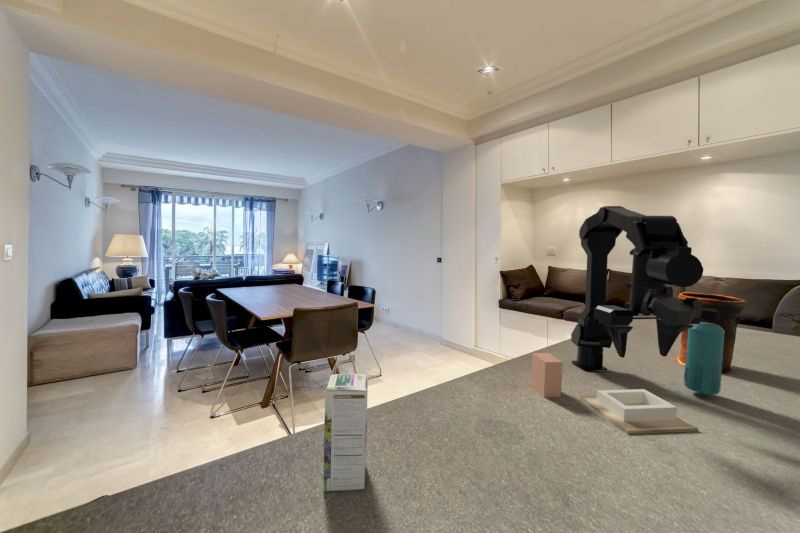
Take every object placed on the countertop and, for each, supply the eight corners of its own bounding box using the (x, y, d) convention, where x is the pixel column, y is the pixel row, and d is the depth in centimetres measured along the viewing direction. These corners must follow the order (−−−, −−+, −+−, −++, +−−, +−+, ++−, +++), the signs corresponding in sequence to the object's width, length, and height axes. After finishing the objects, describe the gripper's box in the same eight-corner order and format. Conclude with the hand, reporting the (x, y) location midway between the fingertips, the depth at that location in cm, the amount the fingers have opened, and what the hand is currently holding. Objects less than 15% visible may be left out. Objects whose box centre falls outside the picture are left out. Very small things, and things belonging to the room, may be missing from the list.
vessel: (674, 352, 110) (682, 289, 108) (737, 365, 100) (747, 297, 98) (666, 363, 100) (674, 294, 98) (735, 379, 90) (746, 303, 87)
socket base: (580, 398, 77) (580, 395, 77) (639, 396, 78) (639, 393, 78) (627, 433, 63) (627, 430, 63) (697, 431, 64) (698, 427, 64)
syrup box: (328, 465, 53) (328, 373, 52) (367, 463, 54) (367, 372, 52) (323, 492, 47) (322, 390, 46) (366, 490, 48) (367, 389, 47)
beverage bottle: (727, 403, 76) (736, 312, 74) (692, 399, 77) (700, 311, 75) (707, 390, 82) (715, 306, 80) (675, 387, 83) (682, 305, 82)
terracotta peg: (531, 385, 83) (532, 353, 82) (547, 385, 83) (548, 353, 83) (543, 397, 77) (545, 362, 76) (560, 396, 78) (562, 362, 77)
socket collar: (596, 401, 74) (597, 390, 74) (643, 400, 75) (644, 389, 75) (623, 421, 66) (624, 408, 66) (675, 419, 67) (677, 407, 67)
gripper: (637, 286, 59) (630, 374, 61) (734, 285, 62) (725, 370, 63) (594, 277, 70) (589, 352, 72) (677, 277, 73) (670, 350, 74)
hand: (642, 356), depth 70 cm, fingers open, 9 cm apart
